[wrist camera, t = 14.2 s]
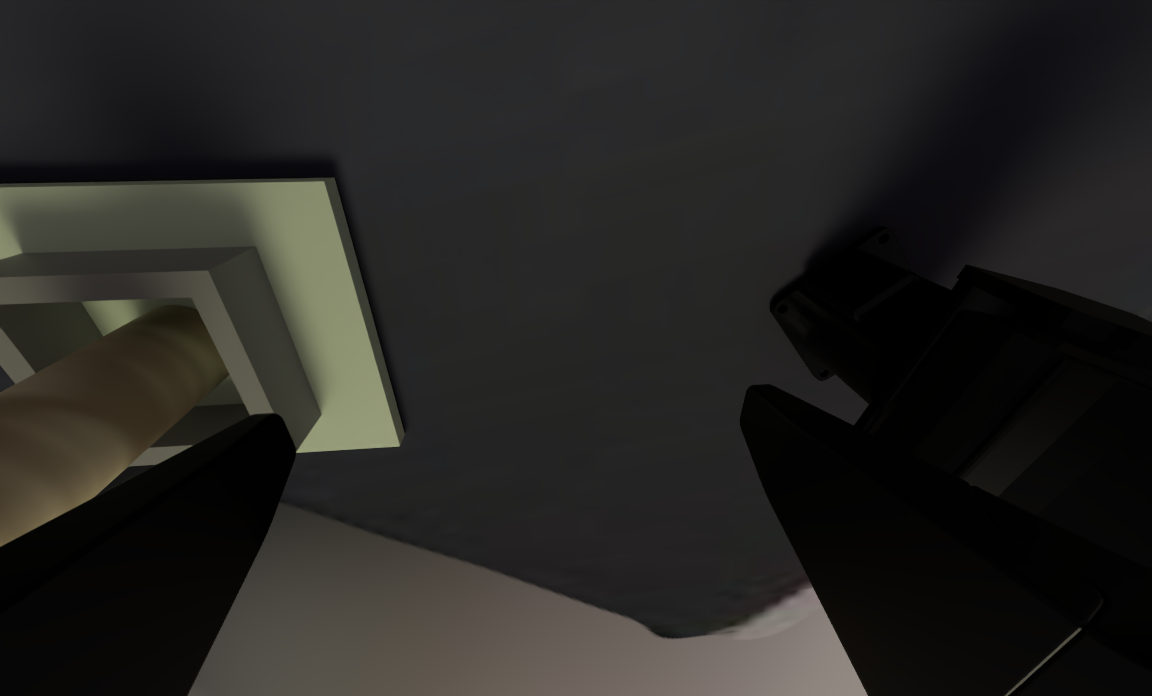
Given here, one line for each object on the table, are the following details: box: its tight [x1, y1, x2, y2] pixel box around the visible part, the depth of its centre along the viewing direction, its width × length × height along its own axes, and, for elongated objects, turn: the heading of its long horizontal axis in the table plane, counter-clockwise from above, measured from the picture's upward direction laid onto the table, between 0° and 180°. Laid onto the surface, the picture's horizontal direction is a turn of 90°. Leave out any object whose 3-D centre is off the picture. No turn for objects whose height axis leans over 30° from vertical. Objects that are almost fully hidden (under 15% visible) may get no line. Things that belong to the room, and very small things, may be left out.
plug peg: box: [0, 305, 230, 547], centre depth 14 cm, size 4×4×13 cm
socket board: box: [0, 178, 405, 466], centre depth 19 cm, size 16×14×4 cm
